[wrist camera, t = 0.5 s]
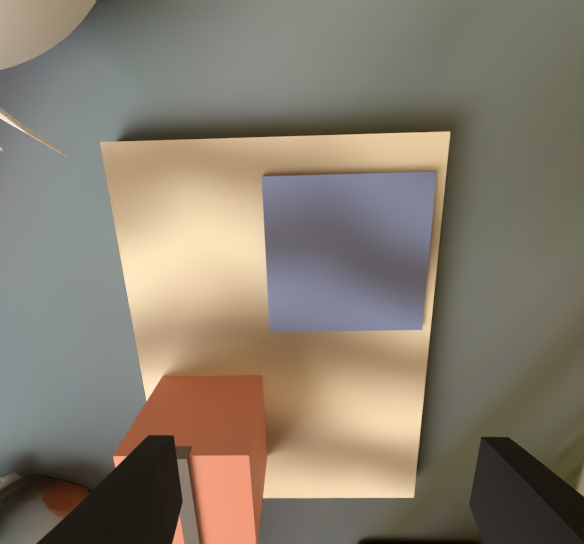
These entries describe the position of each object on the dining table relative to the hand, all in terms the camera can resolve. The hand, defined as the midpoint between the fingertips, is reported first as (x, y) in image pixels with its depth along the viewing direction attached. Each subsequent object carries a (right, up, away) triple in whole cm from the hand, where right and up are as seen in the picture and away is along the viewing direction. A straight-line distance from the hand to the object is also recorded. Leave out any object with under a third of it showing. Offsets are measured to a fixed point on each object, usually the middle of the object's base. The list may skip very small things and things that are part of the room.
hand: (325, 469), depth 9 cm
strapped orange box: (-5, -3, +10) cm, 11 cm away
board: (-1, +1, +10) cm, 10 cm away
